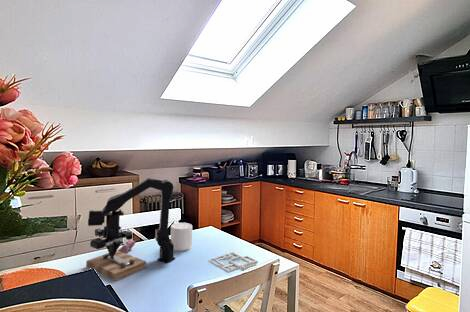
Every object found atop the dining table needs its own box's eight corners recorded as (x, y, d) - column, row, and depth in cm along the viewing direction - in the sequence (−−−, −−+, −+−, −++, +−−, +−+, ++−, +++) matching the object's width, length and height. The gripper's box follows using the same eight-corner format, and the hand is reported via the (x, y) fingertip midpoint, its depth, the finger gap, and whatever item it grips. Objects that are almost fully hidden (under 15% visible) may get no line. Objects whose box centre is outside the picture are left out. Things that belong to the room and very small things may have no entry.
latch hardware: (134, 264, 137) (134, 260, 137) (123, 268, 132) (123, 264, 132) (112, 255, 146) (112, 251, 146) (101, 259, 141) (101, 255, 141)
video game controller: (122, 258, 153) (128, 247, 152) (115, 253, 154) (121, 242, 153) (133, 251, 163) (138, 240, 162) (126, 246, 164) (131, 236, 163)
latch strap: (130, 264, 136) (130, 262, 136) (125, 266, 134) (125, 264, 133) (112, 256, 143) (112, 254, 143) (106, 258, 141) (106, 256, 141)
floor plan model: (270, 262, 151) (270, 258, 151) (231, 276, 136) (232, 271, 135) (246, 250, 166) (246, 247, 166) (208, 261, 150) (208, 258, 150)
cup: (166, 247, 165) (166, 226, 165) (180, 241, 175) (180, 221, 174) (182, 252, 159) (182, 230, 158) (196, 245, 169) (196, 225, 168)
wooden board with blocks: (146, 267, 140) (146, 261, 140) (116, 280, 127) (116, 274, 127) (116, 255, 152) (116, 250, 152) (86, 267, 139) (86, 260, 139)
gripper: (119, 217, 152) (118, 247, 153) (83, 225, 136) (82, 258, 137) (133, 221, 146) (132, 252, 147) (98, 230, 130) (97, 265, 131)
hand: (111, 257), depth 141 cm, fingers closed, pressing on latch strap
